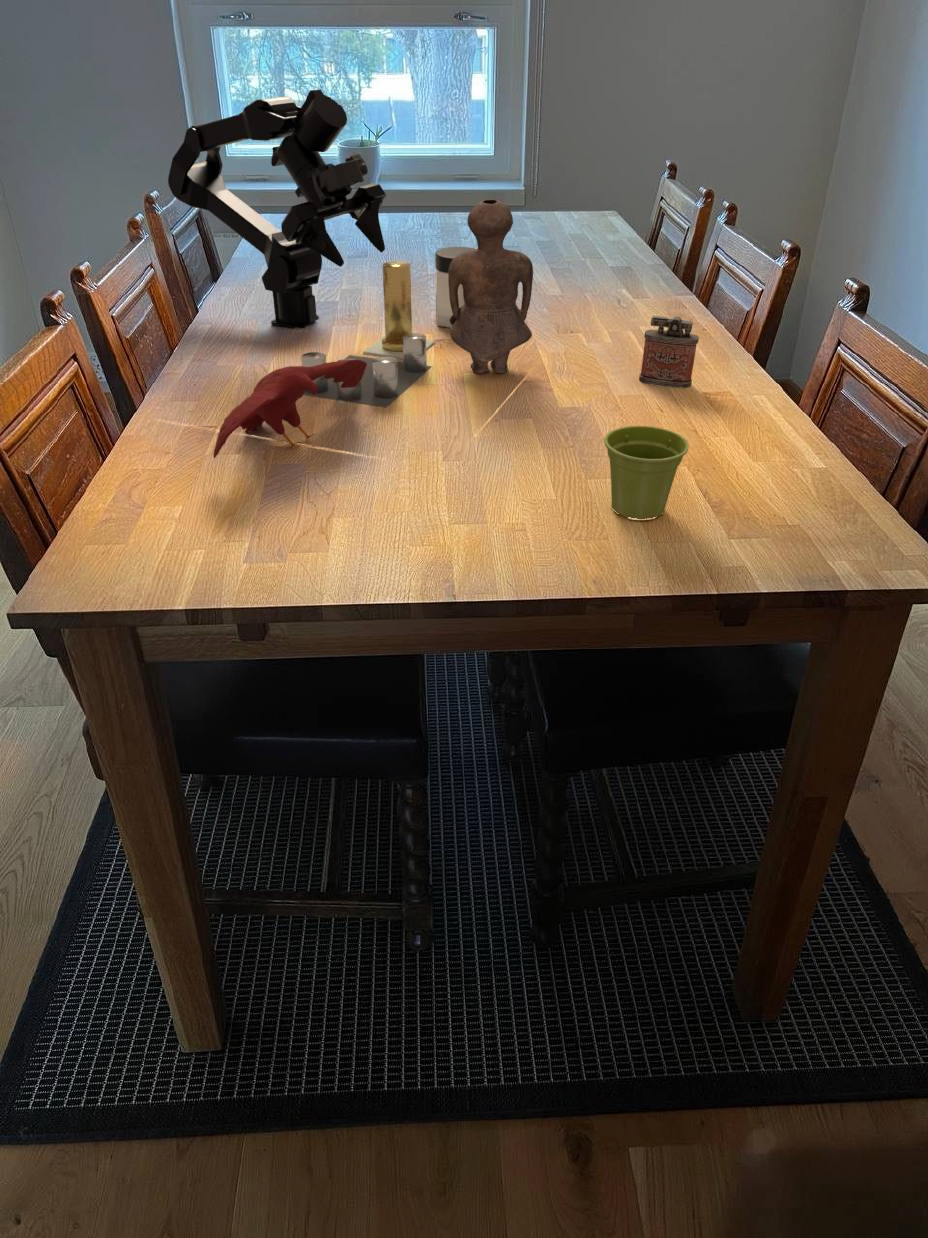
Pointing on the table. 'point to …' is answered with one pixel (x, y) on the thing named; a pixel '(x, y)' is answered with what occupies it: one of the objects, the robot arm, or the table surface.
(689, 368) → the lighter
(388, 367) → the spacers
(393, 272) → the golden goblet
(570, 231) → the table surface
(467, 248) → the jar
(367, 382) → the mat
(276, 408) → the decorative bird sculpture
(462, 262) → the clay figurine
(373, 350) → the tile
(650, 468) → the plant pot
